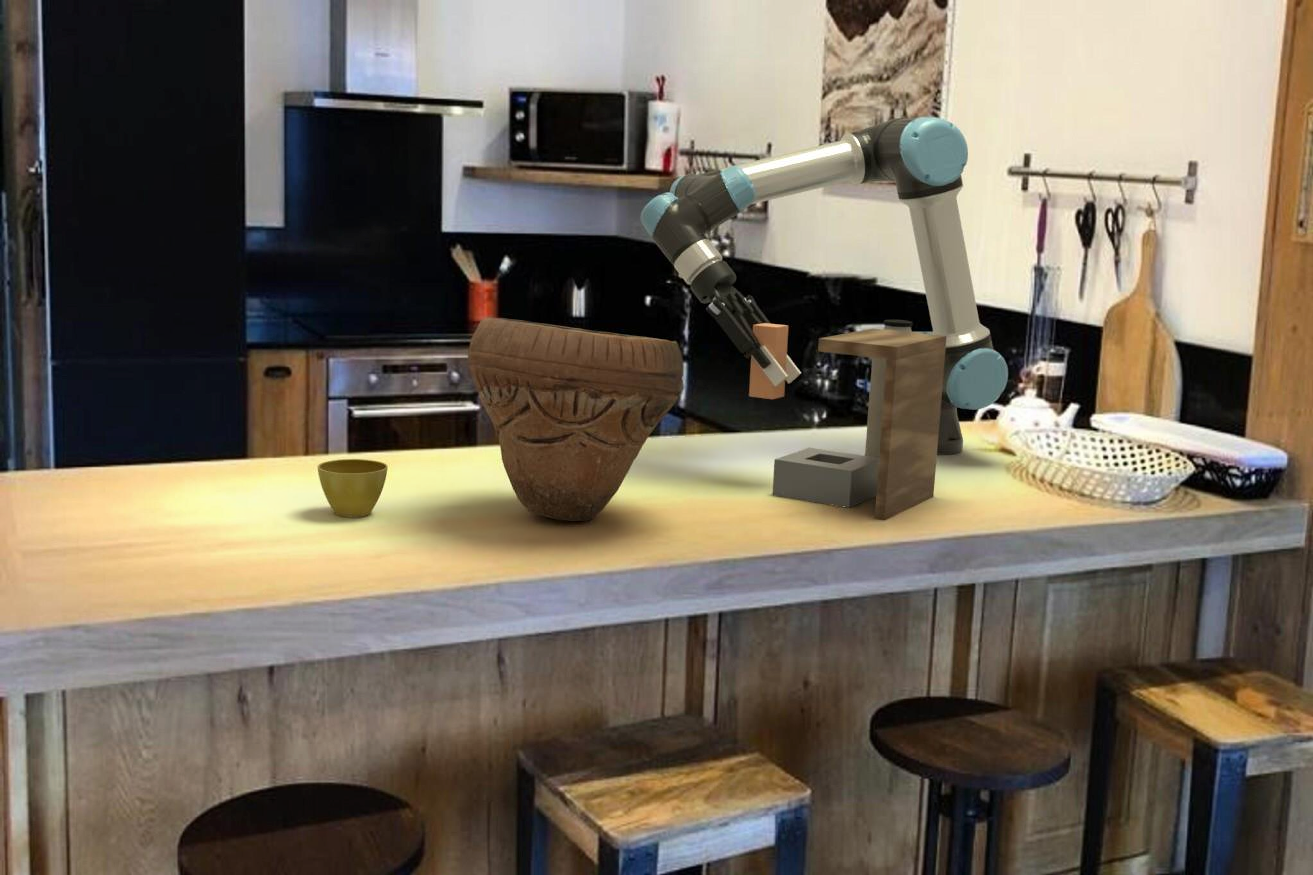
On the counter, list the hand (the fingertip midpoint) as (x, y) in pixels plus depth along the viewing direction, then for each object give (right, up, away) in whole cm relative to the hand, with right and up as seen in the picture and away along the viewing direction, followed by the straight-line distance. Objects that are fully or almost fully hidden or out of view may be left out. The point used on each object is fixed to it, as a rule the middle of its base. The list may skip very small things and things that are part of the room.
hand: (788, 379), depth 246 cm
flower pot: (-67, -21, -28) cm, 76 cm away
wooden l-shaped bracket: (+13, -20, -5) cm, 25 cm away
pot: (-35, -22, -23) cm, 47 cm away
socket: (+6, -19, -1) cm, 20 cm away
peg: (-3, -3, +2) cm, 5 cm away
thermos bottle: (+19, -17, +14) cm, 29 cm away
